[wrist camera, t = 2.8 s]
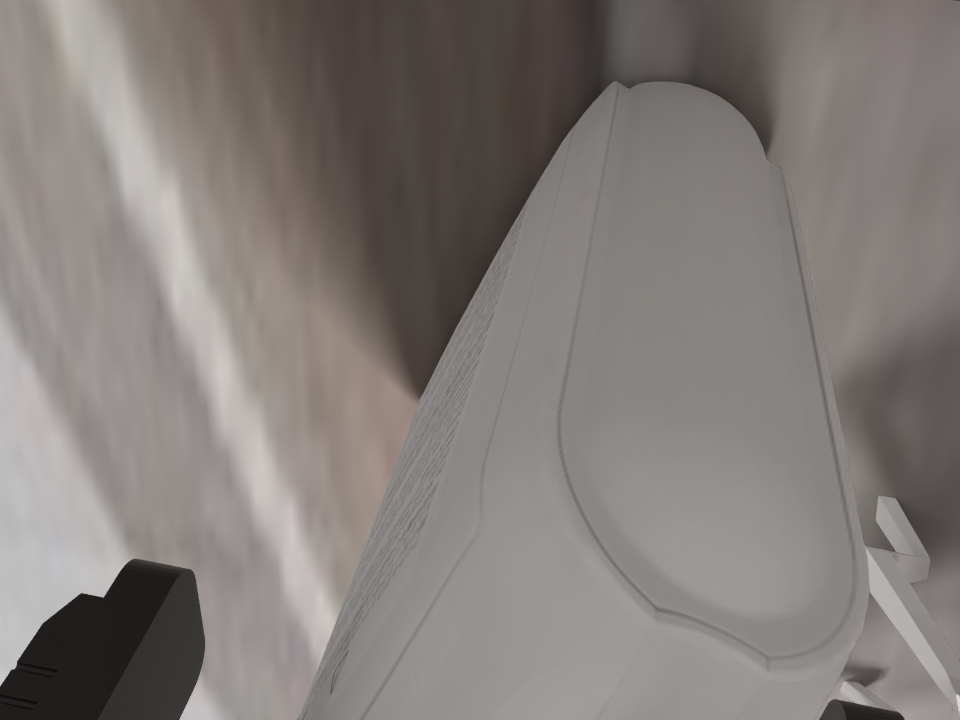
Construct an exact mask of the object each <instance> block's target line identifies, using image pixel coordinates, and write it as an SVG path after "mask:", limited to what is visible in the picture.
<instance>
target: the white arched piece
mask: <svg viewBox="0 0 960 720" xmlns="http://www.w3.org/2000/svg"><path fill="white" fill-rule="evenodd" d="M876 522H877V523H878V525H879V526H880V528H881V530H882V531H883V533H884V534H885V536H886V537H887V539H888V540H889V542H890V543H891V545H892V546H893V548H894V549H895V551H896V552H893V551H888V550H883V549H878V548H873V547H868V546H865V549H866V553H867V558H868V570H869V583H870V593H871V594H872V596H873V597H874V598H875V600H876V601H877V602H878V604H879V605H880V607H881V608H882V609H883V611H884V612H885V613H886V615H887V616H888V618H889V619H890V620H891V622H892V623H893V624H894V626H895V627H896V629H897V630H898V631H899V633H900V634H901V635H902V637H903V638H904V640H905V641H906V642H907V644H908V645H909V646H910V648H911V649H912V651H913V652H914V653H915V655H916V656H917V658H918V659H919V660H920V662H921V663H922V665H923V666H924V667H925V669H926V670H927V672H928V673H929V674H930V676H931V677H932V679H933V680H934V681H935V683H936V684H937V685H938V687H939V688H940V690H941V691H942V692H943V694H944V695H945V697H946V698H947V699H948V701H949V702H950V704H951V705H952V706H953V712H952V716H951V719H950V720H960V661H959V660H958V658H957V657H956V655H955V653H954V652H953V650H952V649H951V647H950V645H949V644H948V642H947V641H946V639H945V637H944V636H943V634H942V633H941V631H940V629H939V628H938V626H937V625H936V623H935V621H934V620H933V618H932V617H931V615H930V614H929V612H928V611H927V609H926V608H925V606H924V604H923V603H922V601H921V600H920V598H919V597H918V595H917V594H916V592H915V590H914V589H913V587H912V586H911V584H910V583H914V582H918V581H922V580H926V579H927V578H928V572H929V566H930V561H931V559H930V557H929V555H928V554H927V552H926V550H925V548H924V547H923V545H922V543H921V541H920V540H919V538H918V536H917V535H916V533H915V531H914V529H913V528H912V526H911V524H910V522H909V521H908V519H907V517H906V515H905V514H904V512H903V510H902V508H901V507H900V505H899V503H898V501H897V500H896V498H891V497H885V496H878V504H877V512H876ZM840 692H841V693H843V694H844V695H845V696H847V697H848V698H850V699H851V700H852V701H854V702H855V703H857V704H861V705H866V706H872V707H877V708H882V709H887V710H892V711H895V710H894V709H893V708H892V707H890V706H889V705H888V704H886V703H885V702H884V701H882V700H881V699H880V698H878V697H877V696H876V695H874V694H873V693H872V692H870V691H869V690H868V689H866V688H865V687H864V686H862V685H861V684H860V683H858V682H850V681H844V683H843V685H842V687H841V689H840Z"/></svg>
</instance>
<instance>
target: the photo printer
mask: <svg viewBox="0 0 960 720" xmlns="http://www.w3.org/2000/svg"><path fill="white" fill-rule="evenodd" d="M869 592H870V583H869V570H868V558H867V553H866V549H865V545H864V540H863V536H862V531H861V527H860V522H859V516H858V511H857V505H856V499H855V493H854V488H853V483H852V478H851V474H850V469H849V463H848V458H847V453H846V448H845V443H844V438H843V434H842V429H841V424H840V419H839V414H838V410H837V405H836V400H835V394H834V389H833V384H832V379H831V373H830V368H829V363H828V359H827V354H826V347H825V343H824V339H823V336H822V330H821V324H820V319H819V314H818V310H817V305H816V300H815V295H814V292H813V287H812V281H811V276H810V271H809V267H808V262H807V257H806V252H805V246H804V242H803V237H802V233H801V227H800V224H799V220H798V216H797V212H796V207H795V203H794V198H793V193H792V189H791V185H790V182H789V180H788V178H787V176H786V174H785V172H784V171H783V169H782V168H781V167H779V166H777V165H775V164H772V163H770V162H769V161H767V159H766V156H765V152H764V149H763V146H762V144H761V142H760V140H759V137H758V135H757V133H756V131H755V130H754V129H753V127H752V126H751V124H750V123H749V121H748V120H747V119H746V118H745V117H744V116H743V115H742V114H741V113H740V112H739V111H738V110H737V109H736V108H735V107H734V106H732V105H731V104H730V103H728V102H727V101H725V100H724V99H722V98H721V97H719V96H718V95H716V94H713V93H711V92H709V91H707V90H705V89H702V88H699V87H695V86H692V85H689V84H684V83H679V82H647V83H640V84H637V85H635V86H633V87H632V88H627V87H625V86H624V85H622V84H620V83H619V82H617V81H614V82H612V83H611V84H610V85H609V86H608V87H607V88H606V89H605V90H604V91H603V92H602V93H601V94H600V96H599V97H598V98H597V99H596V100H595V101H594V102H593V103H592V104H591V106H590V107H589V108H588V109H587V110H586V111H585V112H584V114H583V115H582V116H581V118H580V119H579V121H578V122H577V123H576V124H575V126H574V127H573V128H572V129H571V130H570V132H569V133H568V135H567V136H566V138H565V139H564V140H563V142H562V143H561V145H560V147H559V148H558V150H557V151H556V153H555V155H554V156H553V158H552V160H551V161H550V163H549V165H548V166H547V168H546V170H545V171H544V173H543V174H542V176H541V178H540V179H539V181H538V183H537V185H536V186H535V188H534V190H533V191H532V192H531V194H530V196H529V198H528V200H527V202H526V203H525V205H524V207H523V208H522V210H521V212H520V214H519V215H518V217H517V219H516V220H515V222H514V224H513V226H512V227H511V229H510V231H509V233H508V234H507V236H506V238H505V240H504V241H503V243H502V245H501V247H500V249H499V250H498V252H497V254H496V256H495V257H494V259H493V261H492V263H491V265H490V267H489V268H488V270H487V272H486V274H485V276H484V278H483V279H482V281H481V283H480V285H479V287H478V289H477V291H476V292H475V294H474V296H473V298H472V300H471V302H470V303H469V305H468V307H467V309H466V311H465V313H464V314H463V316H462V318H461V320H460V322H459V324H458V325H457V327H456V329H455V331H454V333H453V335H452V337H451V339H450V341H449V343H448V345H447V347H446V349H445V351H444V353H443V355H442V357H441V359H440V361H439V363H438V365H437V367H436V369H435V371H434V373H433V375H432V377H431V379H430V381H429V383H428V385H427V387H426V389H425V391H424V393H423V394H422V396H421V398H420V400H419V404H418V407H417V410H416V412H415V415H414V417H413V420H412V422H411V425H410V428H409V431H408V433H407V436H406V439H405V441H404V444H403V447H402V449H401V452H400V455H399V457H398V460H397V463H396V465H395V468H394V471H393V473H392V476H391V478H390V481H389V484H388V486H387V489H386V492H385V494H384V497H383V500H382V502H381V505H380V507H379V510H378V513H377V515H376V518H375V521H374V523H373V526H372V528H371V531H370V534H369V536H368V539H367V542H366V544H365V547H364V549H363V552H362V555H361V557H360V560H359V563H358V565H357V568H356V571H355V573H354V576H353V578H352V581H351V584H350V586H349V589H348V592H347V594H346V597H345V600H344V602H343V605H342V608H341V610H340V613H339V616H338V618H337V621H336V624H335V626H334V629H333V631H332V634H331V637H330V639H329V642H328V644H327V647H326V650H325V652H324V655H323V657H322V660H321V663H320V665H319V668H318V670H317V673H316V676H315V678H314V681H313V683H312V686H311V689H310V691H309V694H308V696H307V699H306V702H305V704H304V707H303V709H302V712H301V714H300V716H299V717H298V719H297V720H815V719H816V717H817V715H818V713H819V711H820V710H821V708H822V706H823V704H824V703H825V701H826V699H827V698H828V696H829V694H830V692H831V691H832V689H833V687H834V686H835V684H836V682H837V680H838V679H839V677H840V675H841V673H842V671H843V669H844V667H845V665H846V663H847V661H848V659H849V657H850V655H851V653H852V651H853V649H854V647H855V645H856V643H857V641H858V639H859V637H860V635H861V633H862V630H863V626H864V621H865V617H866V612H867V607H868V599H869Z"/></svg>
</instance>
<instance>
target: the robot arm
mask: <svg viewBox="0 0 960 720" xmlns="http://www.w3.org/2000/svg"><path fill="white" fill-rule="evenodd" d="M204 651H205V636H204V630H203V623H202V617H201V611H200V604H199V598H198V591H197V585H196V579H195V575H194V572H193V571H192V570H190V569H186V568H181V567H176V566H171V565H166V564H160V563H155V562H150V561H145V560H140V559H133V560H131V561H129V562H128V563H127V564H126V565H125V566H124V567H123V568H122V570H121V571H120V573H119V574H118V576H117V577H116V579H115V581H114V582H113V584H112V585H111V587H110V589H109V590H108V592H107V593H106V595H105V596H104V598H103V597H98V596H93V595H88V594H83V593H81V594H80V595H78V596H77V597H76V598H75V599H73V600H72V601H71V602H69V603H68V604H67V605H66V606H64V607H63V608H62V609H61V610H59V611H58V612H57V613H56V614H54V615H53V616H52V617H51V618H49V619H48V620H47V621H45V622H44V623H43V624H42V626H41V627H40V629H39V630H38V632H37V633H36V635H35V636H34V638H33V639H32V640H31V642H30V643H29V645H28V646H27V648H26V649H25V651H24V652H23V654H22V655H21V657H20V658H19V660H18V661H17V666H16V668H15V669H14V670H13V669H12V670H11V671H10V673H9V674H8V676H7V677H6V679H5V680H4V682H3V683H2V685H1V686H0V720H179V719H180V717H181V715H182V713H183V711H184V709H185V706H186V704H187V702H188V700H189V698H190V696H191V694H192V692H193V690H194V687H195V685H196V683H197V680H198V677H199V674H200V671H201V667H202V663H203V658H204ZM819 720H904V718H903V716H902V715H901V714H900V713H899V712H897V711H892V710H887V709H882V708H877V707H872V706H866V705H861V704H856V703H851V702H846V701H841V700H836V699H834V700H831V701H830V702H829V704H828V705H827V707H826V708H825V710H824V712H823V714H822V716H821V718H820V719H819Z"/></svg>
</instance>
